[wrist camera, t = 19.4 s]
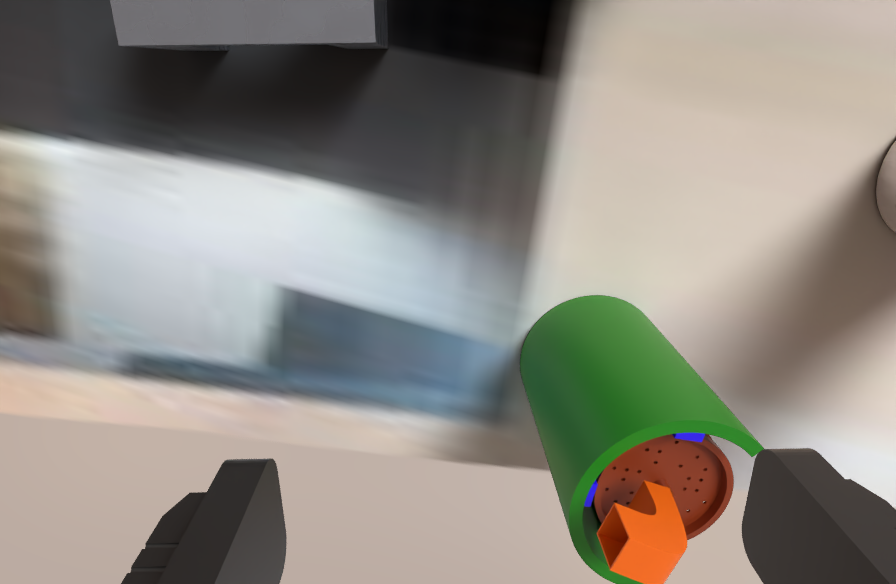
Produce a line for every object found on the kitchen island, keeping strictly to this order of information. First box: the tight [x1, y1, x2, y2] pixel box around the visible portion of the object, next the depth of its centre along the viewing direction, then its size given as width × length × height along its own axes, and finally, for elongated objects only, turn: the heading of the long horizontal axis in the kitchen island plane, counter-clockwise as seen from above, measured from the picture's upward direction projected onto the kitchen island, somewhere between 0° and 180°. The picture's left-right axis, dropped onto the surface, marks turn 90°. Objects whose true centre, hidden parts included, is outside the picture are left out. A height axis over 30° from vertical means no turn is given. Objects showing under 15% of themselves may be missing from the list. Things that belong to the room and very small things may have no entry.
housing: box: [110, 0, 389, 51], centre depth 31 cm, size 4×12×8 cm, turn 91°
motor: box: [520, 295, 764, 584], centre depth 33 cm, size 10×9×20 cm
